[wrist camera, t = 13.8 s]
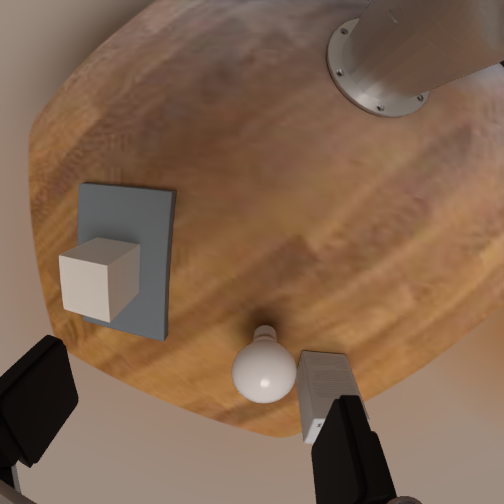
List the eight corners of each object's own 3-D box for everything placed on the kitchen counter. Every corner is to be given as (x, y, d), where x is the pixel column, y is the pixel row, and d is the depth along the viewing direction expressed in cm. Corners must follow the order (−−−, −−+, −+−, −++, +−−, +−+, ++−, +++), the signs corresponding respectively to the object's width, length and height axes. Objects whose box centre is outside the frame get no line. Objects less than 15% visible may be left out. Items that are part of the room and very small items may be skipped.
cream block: (97, 237, 31) (58, 255, 24) (140, 244, 31) (107, 265, 24) (98, 282, 33) (63, 308, 26) (139, 292, 33) (110, 322, 25)
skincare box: (294, 375, 37) (301, 444, 25) (302, 349, 35) (312, 418, 24) (337, 378, 37) (355, 444, 25) (347, 353, 35) (371, 419, 24)
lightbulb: (229, 339, 35) (216, 400, 25) (255, 299, 34) (249, 354, 23) (274, 360, 36) (274, 423, 25) (301, 323, 34) (313, 383, 24)
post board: (85, 182, 31) (44, 188, 23) (176, 191, 31) (148, 198, 23) (88, 315, 36) (57, 344, 28) (167, 335, 36) (146, 372, 28)
